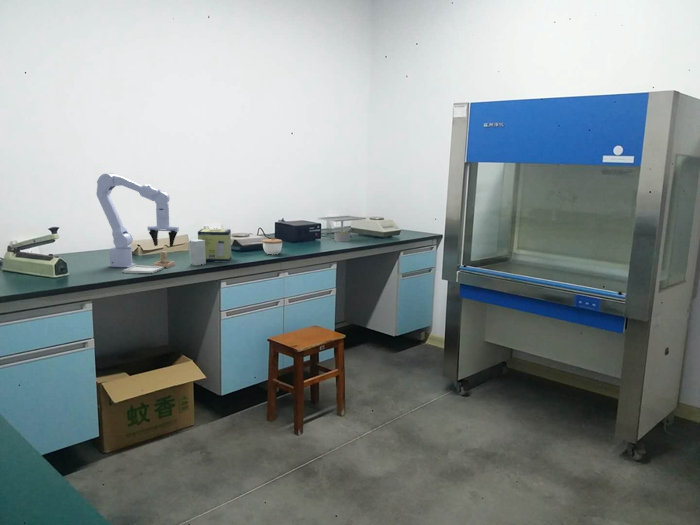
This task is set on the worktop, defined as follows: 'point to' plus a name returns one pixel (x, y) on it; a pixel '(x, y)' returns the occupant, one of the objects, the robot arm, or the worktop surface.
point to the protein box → (216, 244)
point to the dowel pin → (163, 257)
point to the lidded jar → (272, 246)
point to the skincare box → (197, 252)
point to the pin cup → (169, 264)
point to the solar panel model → (342, 235)
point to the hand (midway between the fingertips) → (163, 246)
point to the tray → (142, 269)
